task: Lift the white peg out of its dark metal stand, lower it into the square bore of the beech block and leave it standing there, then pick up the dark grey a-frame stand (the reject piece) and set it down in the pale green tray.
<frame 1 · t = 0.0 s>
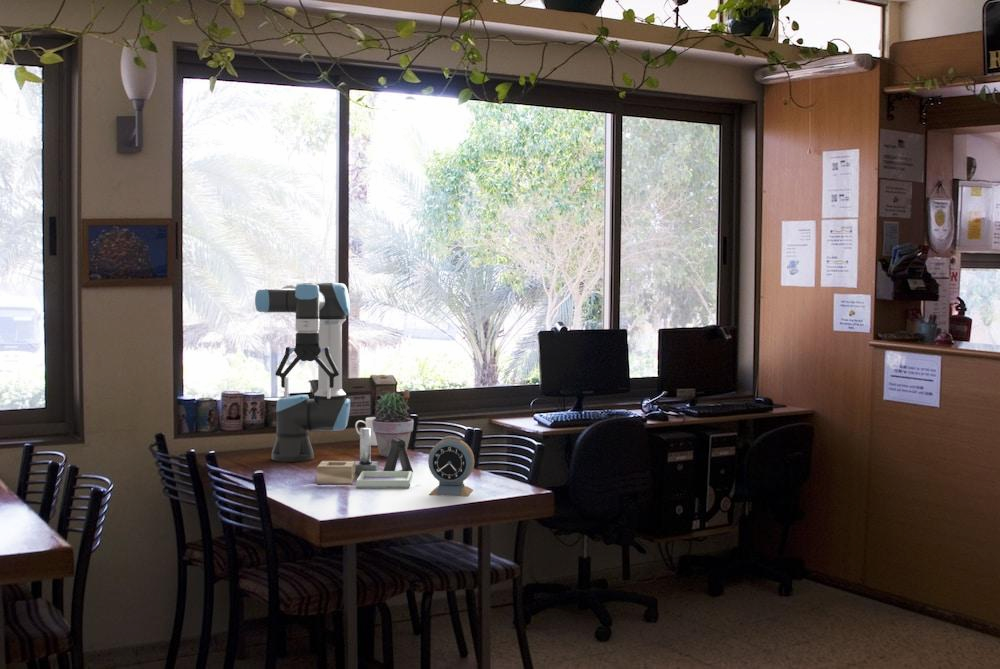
hand: (307, 398, 355), 28 cm above the table, fingers open, 13 cm apart
alarm clock: (451, 493, 344), on the table
gauge stand: (365, 474, 374), on the table
tray: (384, 483, 359), on the table
dark grey a-frame stand: (398, 474, 376), on the table
white pitcher: (370, 445, 440), on the table
bore block: (336, 481, 360), on the table
potted plant: (390, 455, 416), on the table
white peg: (365, 472, 374), point 1 cm above the table, touching gauge stand
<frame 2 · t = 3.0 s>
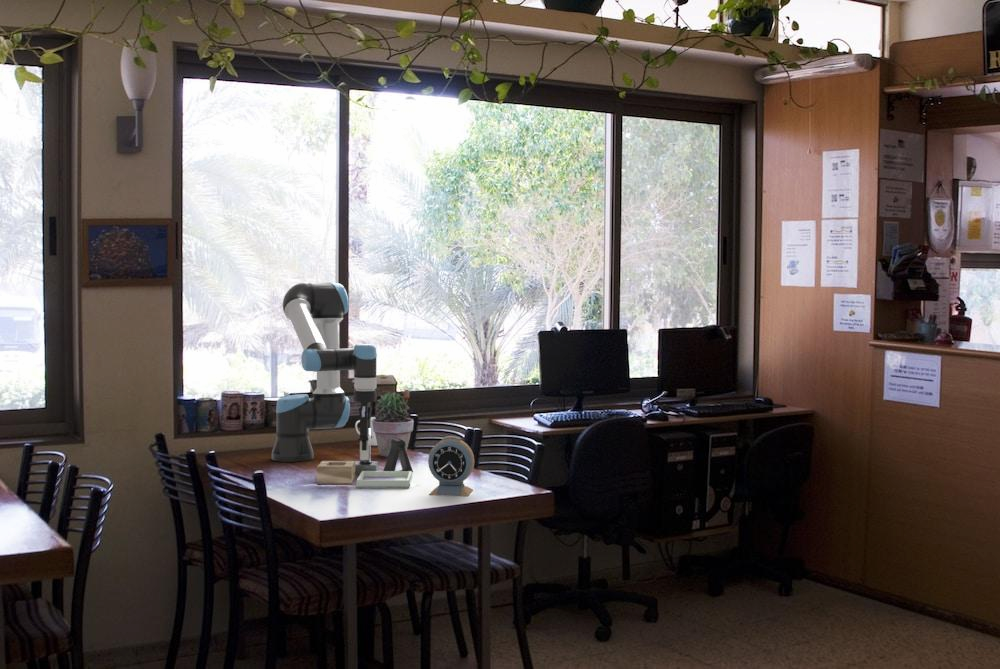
hand: (365, 458, 373), 6 cm above the table, fingers closed on white peg, 3 cm apart
white peg: (365, 472, 374), point 1 cm above the table, touching gauge stand, gripper
everything else where it was.
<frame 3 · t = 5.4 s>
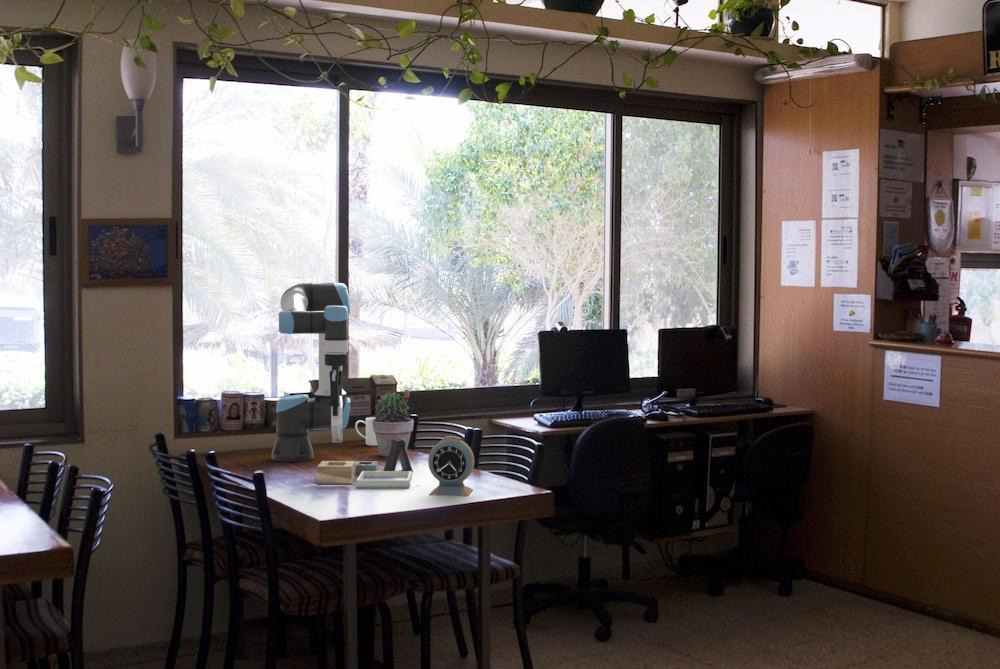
hand: (336, 424, 359), 19 cm above the table, fingers closed on white peg, 3 cm apart
white peg: (337, 442, 360), point 13 cm above the table, touching gripper
everything else where it was.
when the fingers open (7 cm above the table, at t = 7.3 s): white peg drops 1 cm, resting in bore block.
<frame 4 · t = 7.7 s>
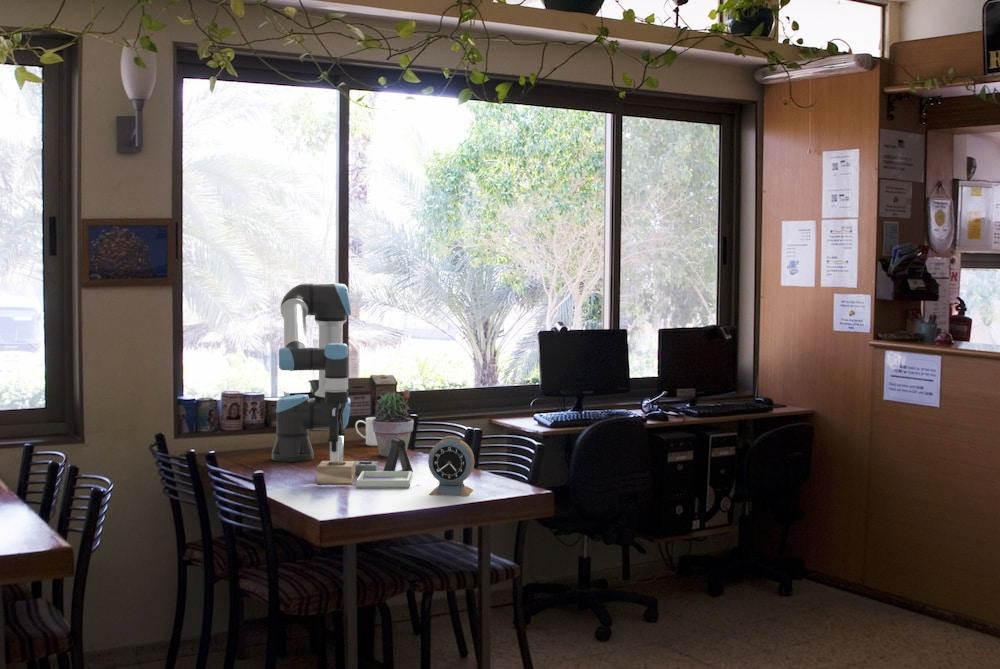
hand: (336, 458, 360), 8 cm above the table, fingers open, 10 cm apart
white peg: (337, 481, 361), resting in bore block
everything else where it was.
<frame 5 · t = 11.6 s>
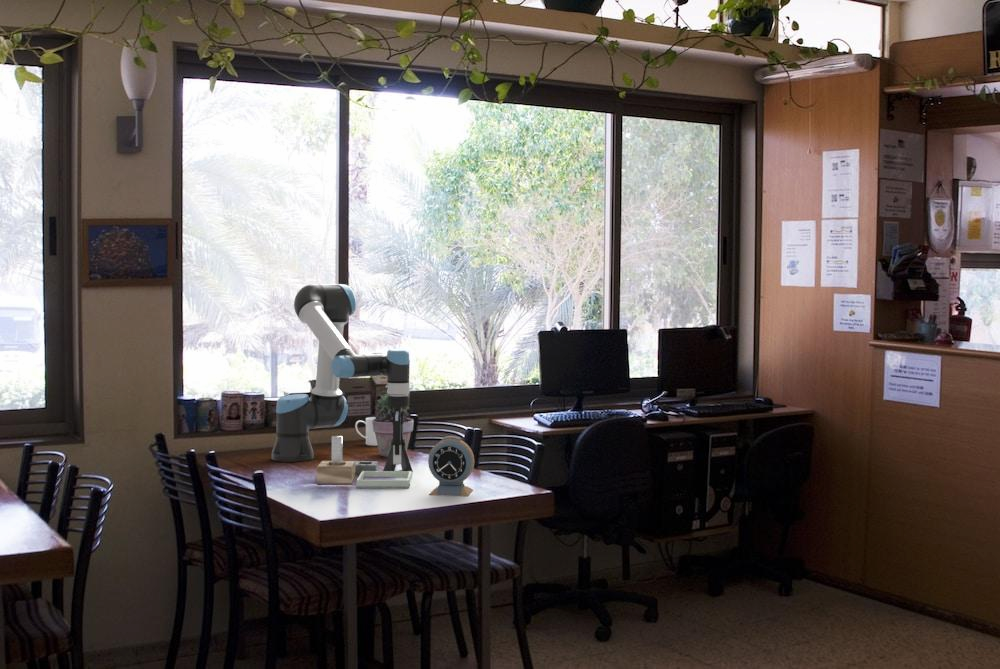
hand: (398, 462, 376), 4 cm above the table, fingers closed on dark grey a-frame stand, 7 cm apart
dark grey a-frame stand: (398, 474, 376), on the table, touching gripper
everything else where it was.
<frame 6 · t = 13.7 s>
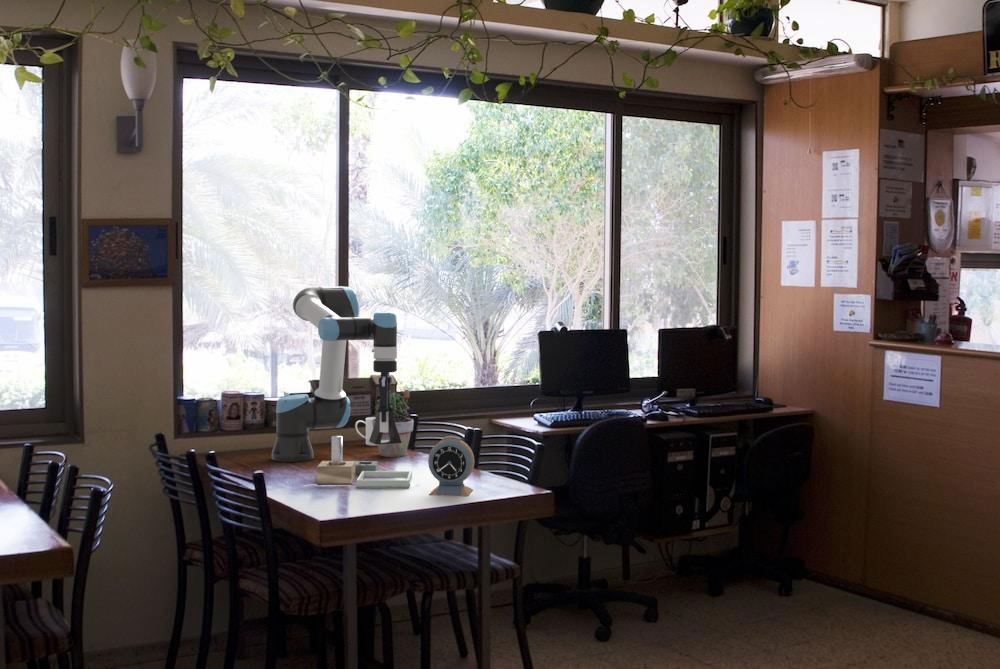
hand: (385, 430, 358), 17 cm above the table, fingers closed on dark grey a-frame stand, 7 cm apart
dark grey a-frame stand: (385, 443, 358), point 13 cm above the table, touching gripper
everything else where it was.
when the fingers open (5 cm above the table, at t = 15.7 s): dark grey a-frame stand stays where it is, resting on tray.
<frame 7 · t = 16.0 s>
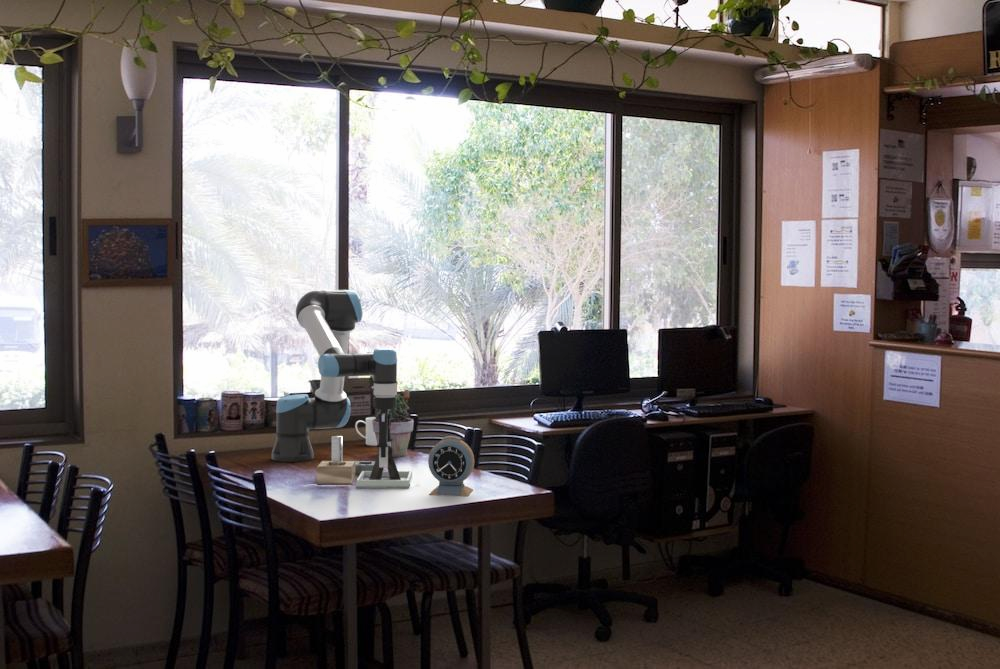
hand: (384, 464, 358), 6 cm above the table, fingers open, 10 cm apart
dark grey a-frame stand: (385, 482, 359), resting on tray
everything else where it was.
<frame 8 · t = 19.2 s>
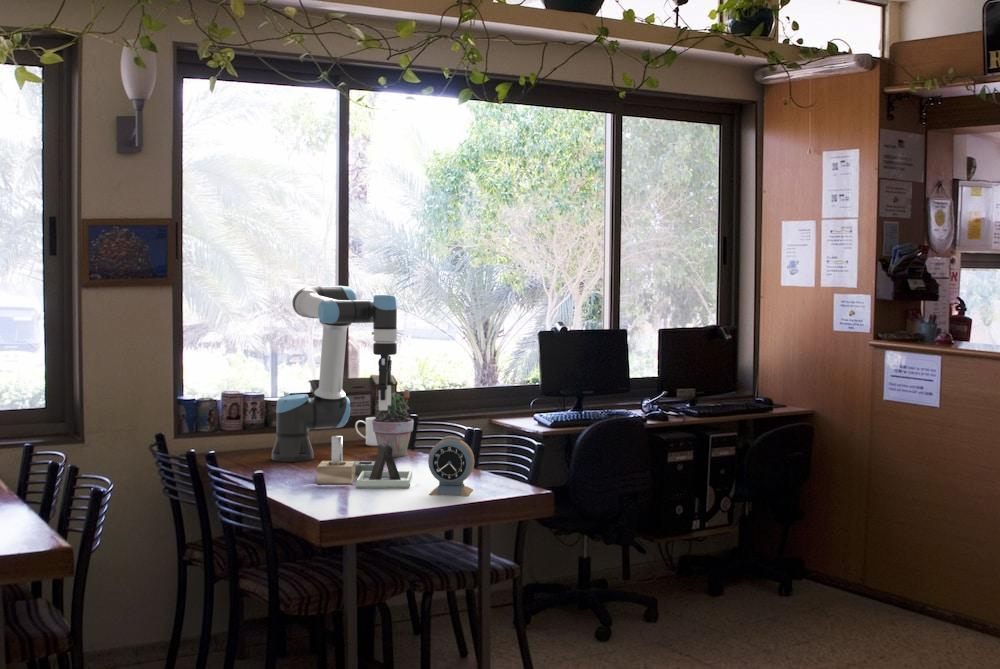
hand: (385, 407, 357), 25 cm above the table, fingers open, 13 cm apart
nothing on the table moved.
at the end: dark grey a-frame stand 0.0 cm from the tray (horizontally); the gripper is holding nothing; white peg 0.2 cm from the bore block (horizontally) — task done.
